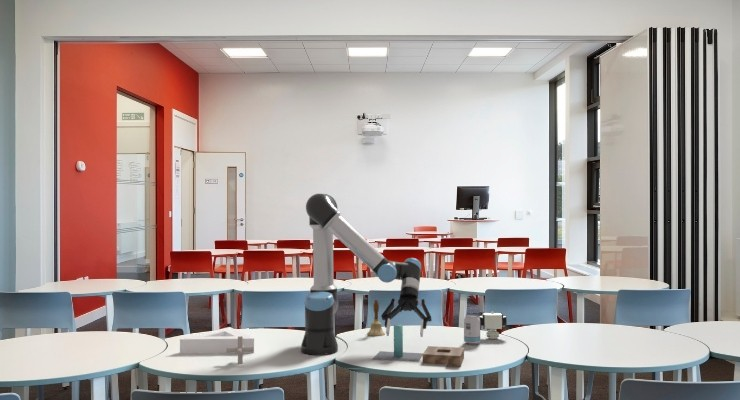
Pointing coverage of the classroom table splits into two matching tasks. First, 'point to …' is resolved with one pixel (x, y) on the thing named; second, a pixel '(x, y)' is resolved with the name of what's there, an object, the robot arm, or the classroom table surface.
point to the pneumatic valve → (492, 323)
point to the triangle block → (214, 341)
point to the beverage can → (472, 329)
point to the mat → (406, 357)
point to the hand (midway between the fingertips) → (404, 334)
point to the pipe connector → (240, 349)
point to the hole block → (444, 356)
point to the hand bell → (376, 323)
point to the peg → (398, 340)
